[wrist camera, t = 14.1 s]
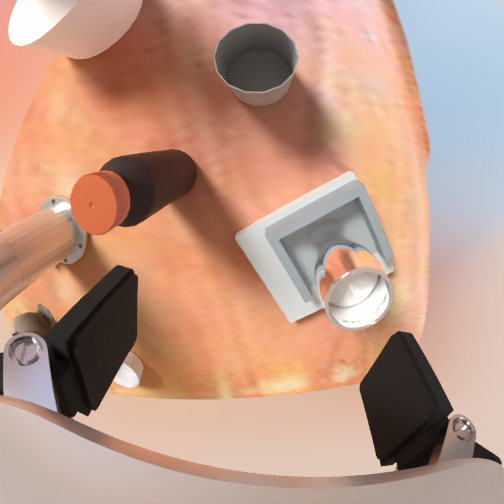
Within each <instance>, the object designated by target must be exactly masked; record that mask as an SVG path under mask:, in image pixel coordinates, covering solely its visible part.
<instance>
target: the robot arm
mask: <svg viewBox="0 0 504 504" xmlns="http://www.w3.org/2000/svg"><path fill="white" fill-rule="evenodd" d="M70 201H71V200H69V199H68V198H66V197H63V196H55V197H52V198H49V199H47V200H46V201H45V202H44V203H43V205H42V206H41V208H40V210H39V212H38V213H36V214H34V215H31V216H29V217H27V218H25V219H23V220H21V221H18V222H16V223H14V224H12V225H10V226H8V227H6V228H4V229H2V230H0V310H1V309H2V308H3V307H4V306H5V305H7V304H8V303H9V302H10V301H11V300H12V299H13V298H15V297H16V296H17V295H18V294H19V293H20V292H22V291H23V290H24V289H25V288H27V287H28V286H29V285H31V284H32V283H33V282H34V281H36V280H37V279H38V278H40V277H41V276H42V275H44V274H45V273H46V272H48V271H49V270H50V269H52V268H53V267H54V266H56V265H57V264H58V263H64V264H71V263H74V262H76V261H77V260H79V259H80V258H81V257H82V256H83V254H84V252H85V250H86V247H87V237H88V235H87V233H86V231H85V230H83V229H82V228H81V227H79V225H78V224H77V223H76V221H75V219H74V217H73V215H72V212H71V211H72V210H71V207H70V204H71V202H70ZM137 291H138V276H137V275H135V274H134V271H133V269H130V268H127V267H123V266H120V265H117V266H116V267H114V268H113V269H112V270H111V271H110V272H109V273H108V274H107V275H106V276H105V277H104V278H103V279H102V280H101V281H100V282H98V283H97V284H96V285H95V286H94V287H93V288H92V289H91V290H90V291H89V292H88V293H87V294H86V295H85V296H83V297H82V298H81V299H80V300H79V301H78V302H77V303H76V304H75V305H74V306H73V307H72V308H71V309H70V310H69V311H68V312H67V313H66V314H65V315H64V316H63V317H62V319H61V320H60V321H59V322H58V323H57V324H56V325H55V326H54V327H53V328H52V329H51V330H50V331H49V332H48V333H47V335H46V336H45V337H44V338H42V337H40V336H39V335H37V334H34V333H27V332H24V333H20V334H17V335H15V336H13V337H12V338H11V339H10V340H8V342H7V343H6V345H5V348H4V353H0V504H504V468H503V467H502V466H501V464H502V463H501V460H500V458H499V457H497V456H496V455H495V454H493V453H492V452H490V451H489V450H487V449H485V448H484V447H482V446H481V445H479V444H478V443H476V442H475V439H476V431H475V427H474V425H473V424H472V422H471V421H470V420H469V419H468V418H466V417H465V416H463V415H454V416H453V417H451V418H450V419H448V417H447V416H448V415H449V414H450V413H451V412H452V411H453V408H452V406H451V404H450V402H449V400H448V398H447V396H446V394H445V392H444V390H443V388H442V386H441V384H440V382H439V380H438V379H437V377H436V375H435V373H434V371H433V369H432V368H431V366H430V364H429V363H428V360H427V358H426V357H425V355H424V353H423V352H422V350H421V348H420V346H419V345H418V343H417V341H416V340H415V338H414V336H413V335H412V334H411V333H407V332H401V331H398V332H396V333H395V334H394V335H392V336H391V337H390V339H389V340H388V342H387V344H386V345H385V347H384V349H383V350H382V352H381V353H380V355H379V356H378V358H377V359H376V361H375V363H374V364H373V366H372V367H371V368H370V370H369V371H368V373H367V374H366V376H365V377H364V379H363V380H362V382H361V384H360V393H361V397H362V400H363V404H364V408H365V411H366V415H367V419H368V423H369V427H370V431H371V435H372V439H373V444H374V448H375V452H376V456H377V458H378V459H380V464H381V466H388V465H393V464H394V463H397V467H396V469H395V471H393V472H386V473H379V474H370V475H358V476H343V477H292V476H276V475H265V474H255V473H248V472H241V471H234V470H228V469H221V468H216V467H212V466H207V465H202V464H198V463H193V462H189V461H185V460H181V459H177V458H174V457H170V456H167V455H163V454H160V453H156V452H153V451H150V450H148V449H145V448H142V447H139V446H136V445H133V444H130V443H127V442H124V441H122V440H119V439H117V438H114V437H111V436H109V435H107V434H104V433H102V432H100V431H97V430H95V429H93V428H91V427H88V426H86V425H84V424H82V423H79V422H77V421H75V420H73V417H74V416H75V415H76V413H77V411H78V412H80V413H82V414H84V415H86V416H89V414H90V412H91V410H94V411H95V410H96V409H97V408H98V407H99V405H100V403H101V401H102V399H103V398H104V396H105V394H106V392H107V390H108V389H109V387H110V385H111V383H112V381H113V380H114V378H115V376H116V374H117V373H118V371H119V369H120V367H121V366H122V364H123V362H124V360H125V359H126V357H127V355H128V354H129V352H130V350H131V348H132V347H133V345H134V343H135V341H136V338H137Z"/></svg>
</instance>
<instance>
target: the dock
mask: <svg viewBox="0 0 504 504" xmlns="http://www.w3.org/2000/svg"><path fill="white" fill-rule="evenodd" d="M327 221H334V222H338V223H340V224H342V225H344V226H345V227H346V228H347V230H348V231H349V233H350V235H351V238H352V239H353V240H354V241H356V242H358V243H360V244H361V245H363V246H364V247H365V248H367V249H368V250H369V251H370V252H371V253H372V254H373V255H374V256H375V257H376V259H377V260H378V261H379V263H380V264H381V266H382V267H383V269H384V271H385V272H386V274H389V273H391V272H393V271H395V269H394V267H393V264H392V261H391V258H393V254H392V251H391V249H390V246H389V243H388V241H387V238H386V235H385V233H384V230H383V228H382V225H381V223H380V220H379V218H378V216H377V213H376V211H375V209H374V206H373V204H372V202H371V199H370V197H369V195H368V193H367V191H366V188H365V186H364V184H363V183H362V182H359V181H358V180H357V178H356V176H355V174H354V173H353V172H351V171H347V172H346V173H344V174H342V175H340V176H338V177H336V178H334V179H332V180H331V181H329V182H327V183H325V184H323V185H321V186H319V187H318V188H316V189H314V190H312V191H310V192H308V193H306V194H305V195H303V196H301V197H299V198H297V199H295V200H294V201H292V202H290V203H288V204H286V205H285V206H283V207H281V208H279V209H277V210H276V211H274V212H272V213H270V214H268V215H267V216H265V217H263V218H261V219H259V220H258V221H256V222H254V223H252V224H251V225H249V226H247V227H245V228H243V229H242V230H240V231H238V232H237V233H236V236H235V240H236V241H237V243H238V244H239V246H240V247H241V249H242V250H243V252H244V253H245V255H246V256H247V258H248V260H249V261H250V263H251V264H252V266H253V267H254V269H255V270H256V272H257V273H258V275H259V276H260V278H261V279H262V281H263V282H264V284H265V285H266V287H267V288H268V290H269V291H270V293H271V295H272V296H273V298H274V299H275V301H276V302H277V304H278V305H279V307H280V308H281V310H282V311H283V313H284V314H285V316H286V317H287V319H288V320H289V322H290V323H292V322H294V321H297V320H299V319H301V318H303V317H305V316H307V315H309V314H312V313H314V312H316V311H318V310H320V309H322V308H324V307H323V305H322V303H321V301H320V298H319V295H318V292H317V289H316V284H315V277H314V265H315V260H314V259H313V257H312V256H311V255H310V253H309V250H308V238H309V235H310V233H311V231H312V230H313V229H314V228H315V227H316V226H317V225H319V224H321V223H323V222H327Z"/></svg>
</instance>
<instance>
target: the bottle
mask: <svg viewBox="0 0 504 504" xmlns="http://www.w3.org/2000/svg"><path fill="white" fill-rule="evenodd" d="M195 177H196V170H195V165H194V163H193V161H192V159H191V158H190V157H189V156H188V155H187V154H186V153H184V152H182V151H180V150H174V149H172V150H163V151H154V152H146V153H139V154H132V155H125V156H120V157H116V158H113V159H111V160H110V161H108V162H107V163H106V164H104V165H103V167H102V168H101V170H100V171H99V172H95V173H91V174H87V175H85V176H83V177H82V178H80V179H78V181H77V183H76V184H75V185H74V187H73V189H72V191H71V192H72V194H71V196H70V197H71V201H70V202H71V204H70V207H71V210H72V211H71V212H72V215H73V217H74V219H75V221H76V223H77V224H78V225H79V227H81V228H82V229H83V230H85V231H86V233H87V232H88V234H89V233H90V234H92V235H93V234H94V235H103V234H105V233H107V232H108V231H110V230H112V229H113V228H115V227H116V226H122V227H130V226H135V225H137V224H139V223H141V222H143V221H144V220H146V219H147V218H149V217H150V216H152V215H153V214H155V213H156V212H158V211H159V210H161V209H162V208H164V207H165V206H167V205H168V204H170V203H171V202H173V201H174V200H176V199H177V198H179V197H180V196H182V195H184V194H185V193H187V192H188V191H189V190H190V189H191V187H192V185H193V183H194V182H195Z"/></svg>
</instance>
